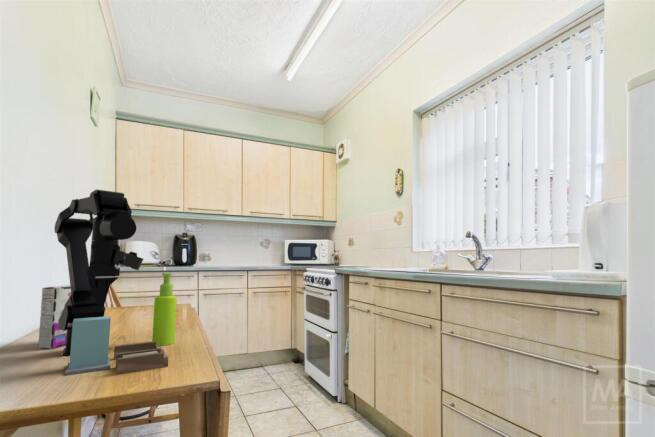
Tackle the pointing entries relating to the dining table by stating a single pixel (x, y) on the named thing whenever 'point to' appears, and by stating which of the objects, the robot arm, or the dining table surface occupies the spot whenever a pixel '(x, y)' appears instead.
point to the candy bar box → (52, 316)
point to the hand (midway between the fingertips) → (100, 305)
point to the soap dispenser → (165, 314)
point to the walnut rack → (139, 357)
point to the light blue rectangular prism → (90, 342)
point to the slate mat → (87, 368)
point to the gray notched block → (139, 354)
